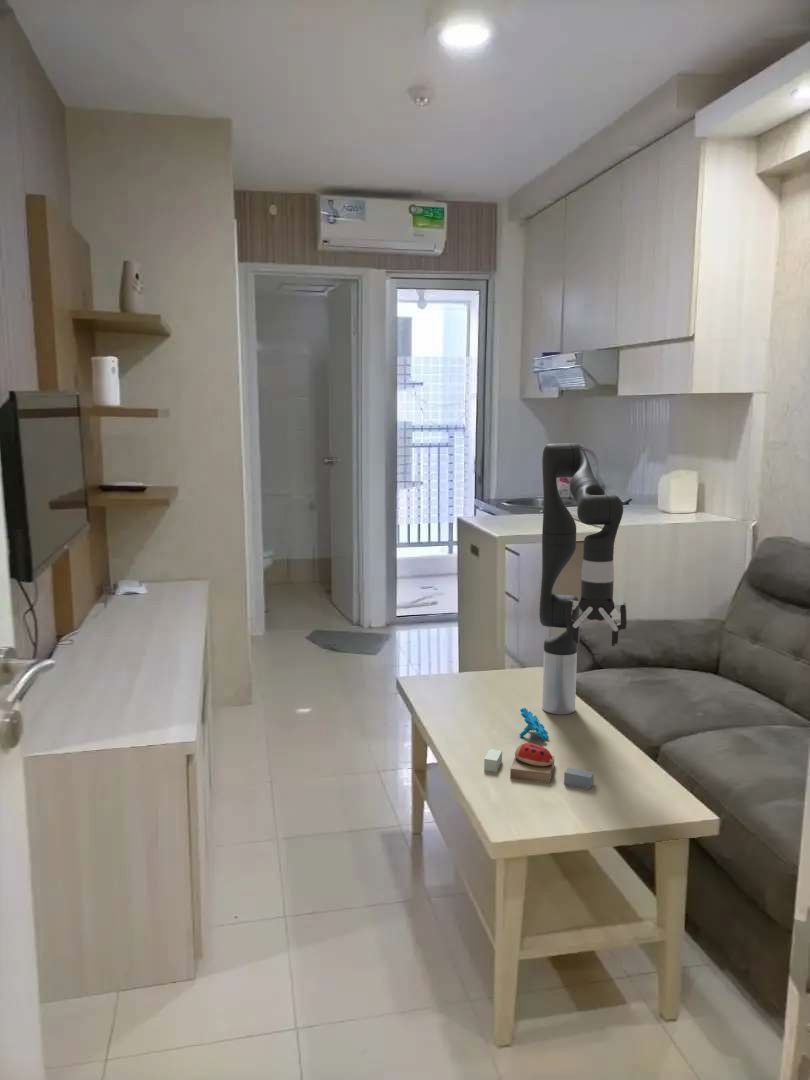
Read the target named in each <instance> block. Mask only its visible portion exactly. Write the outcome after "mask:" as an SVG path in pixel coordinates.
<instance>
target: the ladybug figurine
mask: <svg viewBox="0 0 810 1080" xmlns="http://www.w3.org/2000/svg"><path fill="white" fill-rule="evenodd" d="M552 756H553V755H552V753H551V752H550V750H549V749H547V748H546V747H544V746H543V745H540V744H537V743H532V742H531V743H530V742H523V743H520V745H518V746H517V748H516V750H515V751H514V758H515V757H516V758H517V759H518V760H520V761H522V762H524V763H527V764H530V765H535V766H548V765H551V764H552V763H553V758H552Z"/></svg>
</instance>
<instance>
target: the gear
mask: <svg viewBox="0 0 810 1080" xmlns="http://www.w3.org/2000/svg"><path fill="white" fill-rule="evenodd" d="M519 711H520V712H521V713H520V715H521V716H522V717H523V718H524V722H525V723H526V724H527V726H524V728H523V730H522V732H520V733H519V736H520V737H521V738H524V736H525V735H526V734H528V733H529V732H530V731H533V732H534V731H536V735H537V736H538V737H539V738H541V739H542V740H544V741H546V740H548V739H549V738H550V736H549V732H548V731H547V730H546V729H545V726H544V724H542V723H541V722H540V719H539V718H538V716H537V715H536V714H534V713H533V712H532V711H531V710H529V711H528V709H527V708H526V707H522V708H521V709H520V710H519Z"/></svg>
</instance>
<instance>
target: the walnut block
mask: <svg viewBox="0 0 810 1080" xmlns="http://www.w3.org/2000/svg"><path fill="white" fill-rule="evenodd" d="M552 758H553V763H552V764H551V765H548V766H535V765H530V764H527V763H524V762H522V761H520V760H518V759H517V758H516V757H515V756H514V759H513V761H512V764H511V766H510V773H509V774H510V775H509V776H510V777H509V778H510V779H512V780H513V779H514V780H522V781H529V782H530V781H531V782H537V781H539V782H538V783H545V782H546V783H545V784H550V783H551V780H550V779H552V776H551V775H553V772H554V767H555V755H552Z"/></svg>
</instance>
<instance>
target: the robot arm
mask: <svg viewBox="0 0 810 1080" xmlns="http://www.w3.org/2000/svg"><path fill="white" fill-rule="evenodd" d="M541 457H542V460H541V461H542V463H541V464H542V465H541V466H542V467H541V468H542V487H543V509H542V513H543V514H542V515H543V516H542V531H541V532H542V533H541V534H542V535H541V553H542V554H541V555H542V556H541V559H542V561H541V562H542V563H541V564H542V567H541V584H540V585H541V586H540V597H539V614H538V615H539V621H540V624H541V625H542V626H543V627H548V628H560V629H561V628H563V629H565V631H564V632H561V633H560V634H557V635H553V636H550V637H548V638H546V639H545V640H544V643H543V666H542V667H543V670H542V672H543V673H542V702H541V703H542V704H541V705H542V706H541V707H542V710H544V711H545V712H546V713H549V714H552V715H553V714H555V715H568V714H572V713H574V712H575V711H576V698H577V696H576V695H577V693H576V692H577V691H576V690H577V659H578V644H580V637H581V636H580V633H581V632H580V631H581V627H580V625H581V624H582V623H583V622H584V621H585V620H586V619H588V621H594V620H595V621H596V620H597V621H599V622H601V621H604V620H605V621H606V623H607V624H608V625H609V627H611V629H612V631H611V647H615V645H617V644H619V643H618V642H619V632H620V631H621V630H626V628H627V626H628V621H627V620H628V619H627V618H628V617H627V604H626V602H621V603H615V602H614V581H615V579H614V578H615V565H614V549H615V543H616V542H615V540H616V537H617V533H618V529H619V527H620V523H621V522H622V518H623V515H624V514H623V513H624V505H623V502H622V500H621V498H620V497H619V496H618V495H616V494H606V493H605V490H604V488H603V487H602V485H601V484H600V482H599V481H598V480H597V479H596V477H595V475H594V473H593V469H592V467H591V464H590V461H589V459H588V456H587V453H586V451H585V449H584V448H583V446H582V445H580V444H578V443H571V442H570V443H569V442H568V443H548V444H546V445H545V446H544V448H543V451H542V456H541ZM559 478H571V480H570V482H569V489H570V493H571V495H572V497H573V499H574V501H575V502H576V505H577V508H576V512H577V517H578V520H579V521H580V522H581V523H582V524H584V525H588V526H594V525H595V526H599V525H600V526H603V527H602V529H601V530H600V531H599V532H598V531H597V532H596V533H595V532H594V533H592V534H588V535H586V536H585V537H584V539H583V553H582V554H583V555H582V556H583V557H582V566H581V573H580V578H581V580H580V584H581V587H580V600H579V598H578V597H577V596H576V595H573V594H571V595H570V594H555V593H554V594H553V588H554V585H555V584H556V581H557V579H558V578H559V577H560V576H559V575H560V574H561V573H562V571H563V569H564V568H565V567H566V566H567V565H568V563H569V561H570V560H571V559H572V557H573V555H574V553H575V551H576V549H577V524H576V521H575V519H574V518H573V516H572V514H571V512H570V511H569V509H568V507H567V506H566V505H565V502H564V501H563V499H562V497H561V496H560V493H559V489H558V481H557V479H559ZM615 609H616V611H617V613H618V614H620V623H618V622H617V621H616V620H615V617H614V616H613V615H612V612H613V611H614V610H615ZM580 610H581V612H582V613H581V614H580Z"/></svg>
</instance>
